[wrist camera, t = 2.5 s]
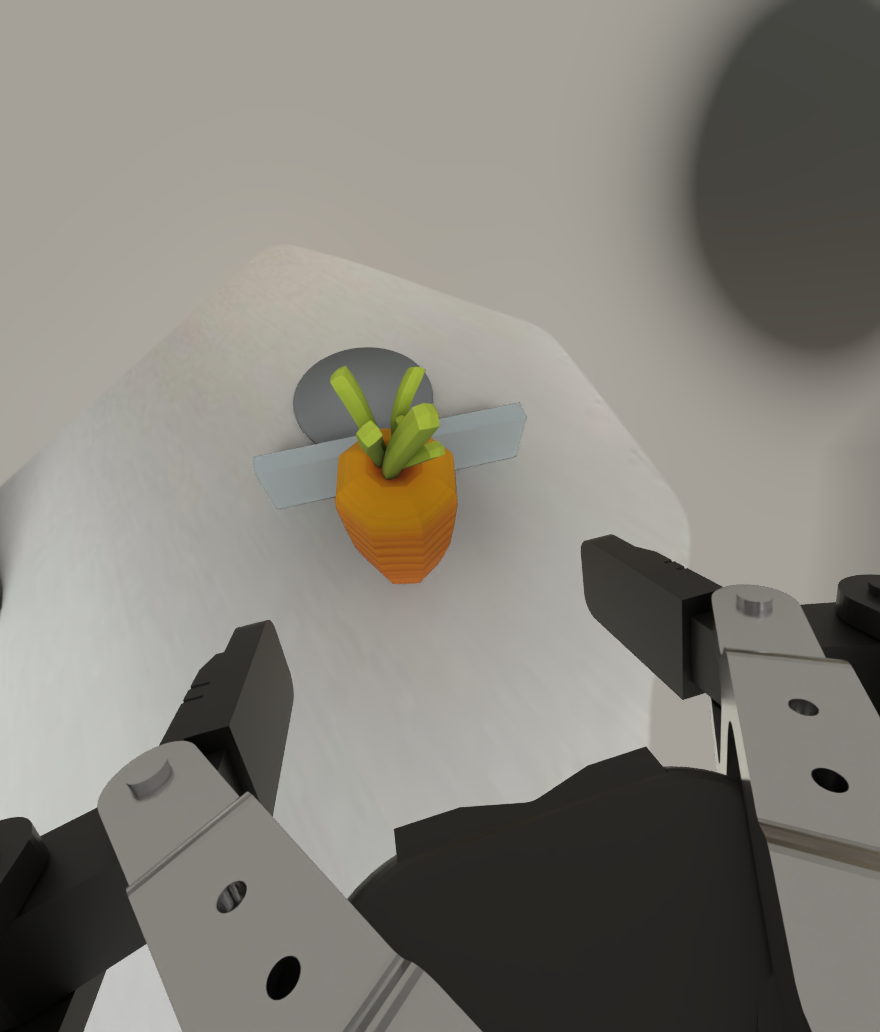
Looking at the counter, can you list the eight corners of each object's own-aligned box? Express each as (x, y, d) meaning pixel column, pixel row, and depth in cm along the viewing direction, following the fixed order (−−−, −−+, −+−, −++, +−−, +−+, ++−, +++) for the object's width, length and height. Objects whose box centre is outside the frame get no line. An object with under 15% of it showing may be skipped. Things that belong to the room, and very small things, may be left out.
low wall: (277, 509, 28) (254, 474, 24) (275, 493, 28) (253, 456, 25) (515, 456, 30) (526, 417, 26) (509, 442, 31) (519, 402, 27)
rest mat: (304, 469, 29) (302, 466, 29) (287, 364, 34) (286, 360, 33) (448, 438, 31) (449, 435, 30) (414, 342, 35) (414, 337, 35)
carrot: (354, 555, 26) (276, 358, 13) (429, 524, 27) (427, 313, 14) (385, 631, 24) (329, 487, 11) (465, 594, 25) (502, 423, 12)
